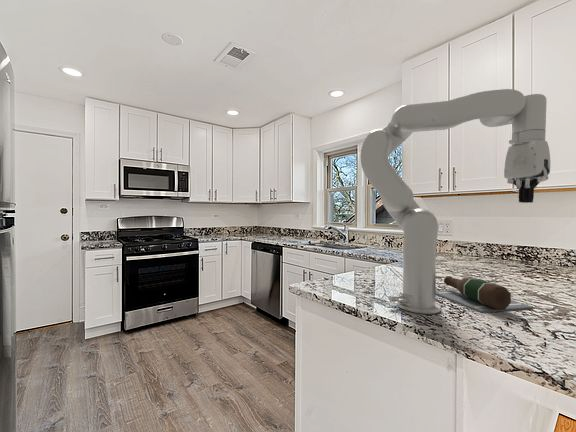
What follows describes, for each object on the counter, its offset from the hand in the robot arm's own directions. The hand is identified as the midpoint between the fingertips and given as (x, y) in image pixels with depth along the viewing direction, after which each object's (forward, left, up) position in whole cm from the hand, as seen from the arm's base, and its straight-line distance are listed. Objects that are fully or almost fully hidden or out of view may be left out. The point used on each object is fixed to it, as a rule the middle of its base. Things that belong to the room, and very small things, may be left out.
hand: (525, 202), depth 82 cm
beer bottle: (-3, +4, -30) cm, 30 cm away
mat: (0, +16, -34) cm, 37 cm away
